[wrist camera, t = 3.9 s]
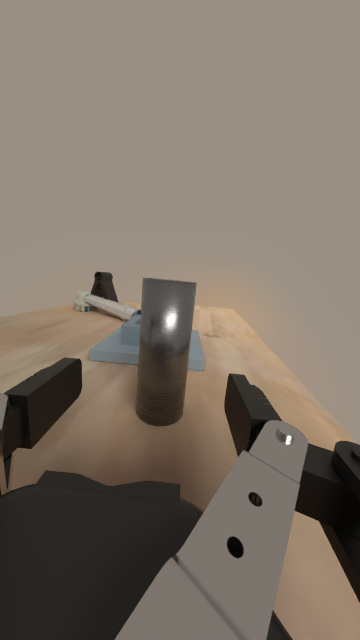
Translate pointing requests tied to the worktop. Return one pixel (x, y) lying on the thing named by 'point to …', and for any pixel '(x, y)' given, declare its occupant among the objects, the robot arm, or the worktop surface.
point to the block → (126, 346)
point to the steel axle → (164, 349)
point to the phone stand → (104, 287)
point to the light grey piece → (104, 306)
